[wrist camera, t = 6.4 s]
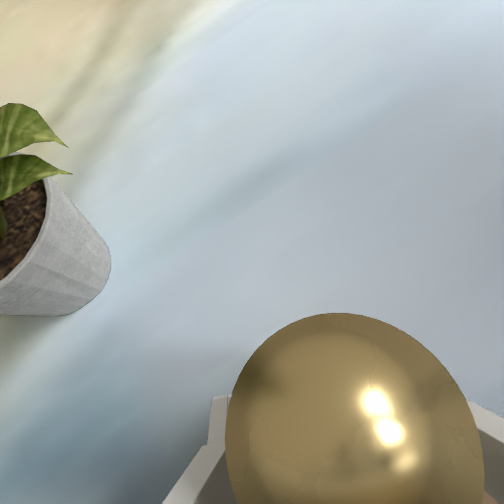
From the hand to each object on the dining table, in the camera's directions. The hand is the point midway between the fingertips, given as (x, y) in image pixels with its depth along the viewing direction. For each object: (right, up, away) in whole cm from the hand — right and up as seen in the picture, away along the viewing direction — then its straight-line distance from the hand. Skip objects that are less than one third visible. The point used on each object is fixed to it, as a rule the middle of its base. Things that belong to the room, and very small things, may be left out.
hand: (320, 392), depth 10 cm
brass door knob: (+1, -2, +4) cm, 5 cm away
